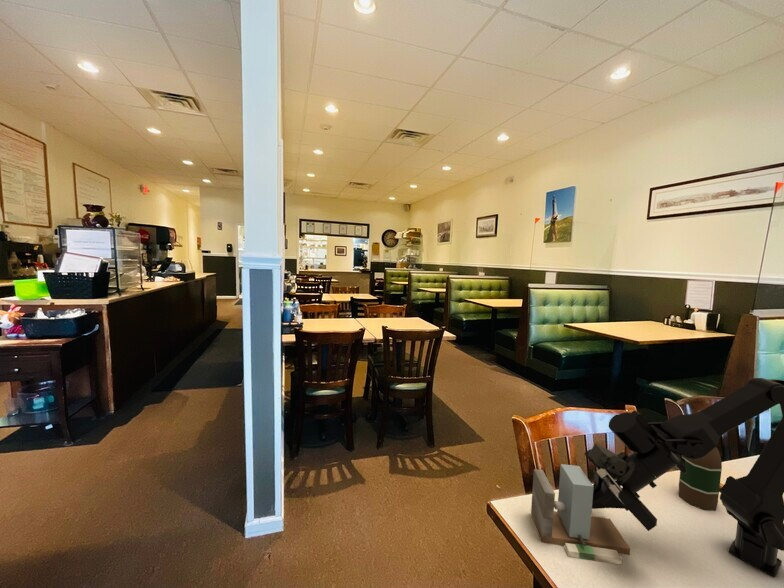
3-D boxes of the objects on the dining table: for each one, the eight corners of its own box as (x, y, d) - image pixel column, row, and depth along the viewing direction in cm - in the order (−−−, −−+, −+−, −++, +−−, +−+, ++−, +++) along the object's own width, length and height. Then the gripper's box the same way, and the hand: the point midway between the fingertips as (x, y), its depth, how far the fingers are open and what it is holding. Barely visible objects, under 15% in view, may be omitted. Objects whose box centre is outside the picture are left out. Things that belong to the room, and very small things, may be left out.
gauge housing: (609, 524, 73) (613, 478, 72) (637, 566, 63) (642, 513, 62) (530, 514, 76) (533, 469, 75) (545, 552, 65) (549, 501, 64)
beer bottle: (670, 494, 84) (679, 408, 82) (685, 486, 87) (694, 403, 85) (709, 515, 77) (720, 421, 75) (723, 506, 80) (734, 416, 78)
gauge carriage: (575, 514, 74) (579, 466, 73) (594, 548, 65) (598, 493, 64) (548, 510, 75) (551, 463, 74) (563, 544, 66) (567, 490, 65)
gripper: (596, 417, 77) (545, 454, 80) (645, 463, 59) (577, 510, 61) (628, 451, 77) (576, 487, 79) (688, 508, 58) (618, 554, 61)
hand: (584, 506), depth 70 cm, fingers closed, pressing on gauge carriage
